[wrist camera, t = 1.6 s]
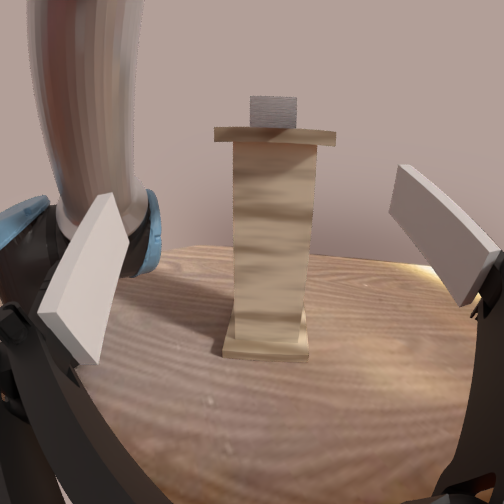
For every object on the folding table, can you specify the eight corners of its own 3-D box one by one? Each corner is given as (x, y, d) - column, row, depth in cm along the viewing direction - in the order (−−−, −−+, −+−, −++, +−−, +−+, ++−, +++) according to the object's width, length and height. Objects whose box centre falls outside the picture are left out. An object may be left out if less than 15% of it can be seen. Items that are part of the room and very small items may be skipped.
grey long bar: (312, 130, 16) (313, 83, 15) (233, 127, 17) (233, 81, 15) (293, 128, 38) (294, 107, 37) (259, 127, 38) (259, 106, 37)
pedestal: (307, 362, 38) (336, 131, 26) (222, 357, 39) (214, 127, 27) (302, 306, 51) (317, 130, 39) (235, 302, 52) (234, 126, 40)
